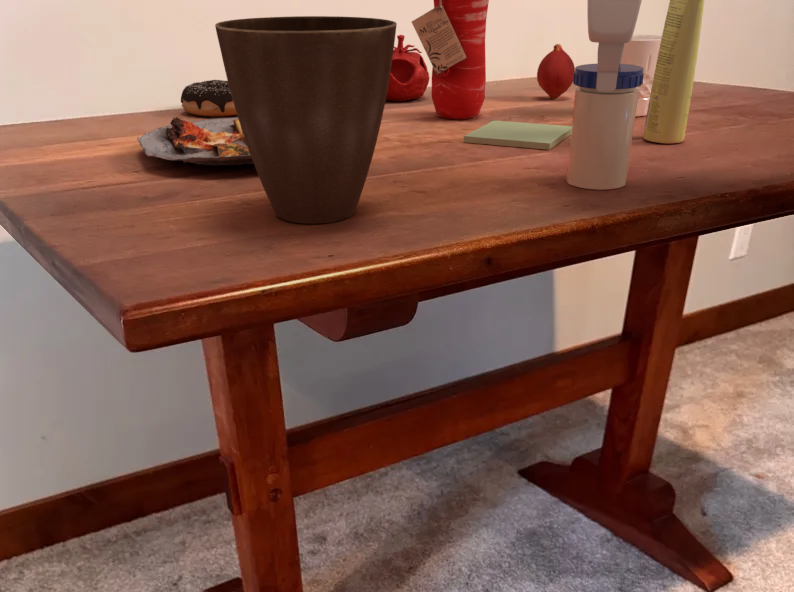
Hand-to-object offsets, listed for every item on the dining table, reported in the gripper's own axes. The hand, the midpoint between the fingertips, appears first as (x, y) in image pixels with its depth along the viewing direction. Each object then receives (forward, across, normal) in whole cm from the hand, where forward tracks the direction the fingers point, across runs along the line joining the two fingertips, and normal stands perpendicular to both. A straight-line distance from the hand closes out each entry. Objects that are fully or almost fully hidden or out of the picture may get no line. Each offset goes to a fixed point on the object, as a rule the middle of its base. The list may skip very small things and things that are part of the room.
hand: (607, 85), depth 78 cm
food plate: (+10, -4, -42) cm, 43 cm away
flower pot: (+10, +17, -24) cm, 31 cm away
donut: (+10, -29, -57) cm, 65 cm away
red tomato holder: (+10, -46, -34) cm, 57 cm away
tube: (+10, -22, +7) cm, 25 cm away
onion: (+10, -50, -9) cm, 52 cm away
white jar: (+9, 0, 0) cm, 9 cm away
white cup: (+10, -40, +2) cm, 41 cm away
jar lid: (-1, 0, 0) cm, 1 cm away
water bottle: (+10, -31, -22) cm, 39 cm away
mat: (+9, -20, -11) cm, 25 cm away
